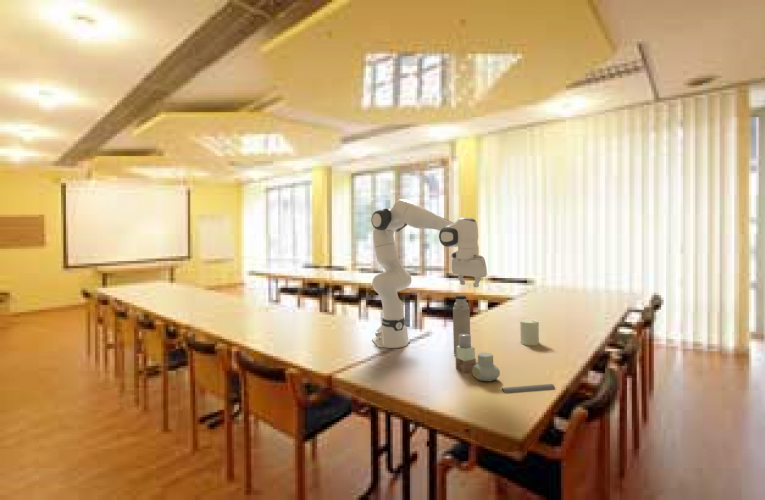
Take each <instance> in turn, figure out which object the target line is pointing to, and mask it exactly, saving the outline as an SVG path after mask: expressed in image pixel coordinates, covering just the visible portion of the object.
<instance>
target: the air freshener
mask: <svg viewBox="0 0 765 500" xmlns="http://www.w3.org/2000/svg"><path fill="white" fill-rule="evenodd" d="M471 372H472V375H473V376H474V377H475V378H476V379H477V380H479V381H480V382H493V381H495V380H497V379H498V378H499V377H500V375H501V371H500V369H499V367H498V366H497V365H496V364H494V354H492V353H490V352H480V353H478V355H477V363H476V365H475V366H474V367H473V368H472V371H471Z"/></svg>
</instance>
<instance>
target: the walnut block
mask: <svg viewBox="0 0 765 500" xmlns="http://www.w3.org/2000/svg"><path fill="white" fill-rule="evenodd" d="M476 362H477V360H476V358H475V359H472V360H467V361H463V360H461V359H459V358H457V356H456V357H455V369H456V370H458V371H460V372H461V373H463V374H466V373H471V372H472V368H473V367H474V366H475V365H476V364H477V363H476Z"/></svg>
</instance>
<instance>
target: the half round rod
mask: <svg viewBox="0 0 765 500" xmlns="http://www.w3.org/2000/svg"><path fill="white" fill-rule="evenodd" d="M501 390H502V391H503V392H504V393H505V394H517V393H528V392H529V393H530V392H543V391H552V390H553V391H554V390H556V387H555V385H554V383H546V384H533V385H524V386H523V385H521V386H520V385H519V386H507V387H501Z"/></svg>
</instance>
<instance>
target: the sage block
mask: <svg viewBox="0 0 765 500" xmlns="http://www.w3.org/2000/svg"><path fill="white" fill-rule="evenodd" d="M475 348H476V347H475V346H472V345H471V348H460V347H459V346H456V353H457V355H456V357H457V358H459V359H461V360H463V361H467V360H472V359H476V350H475Z"/></svg>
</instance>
